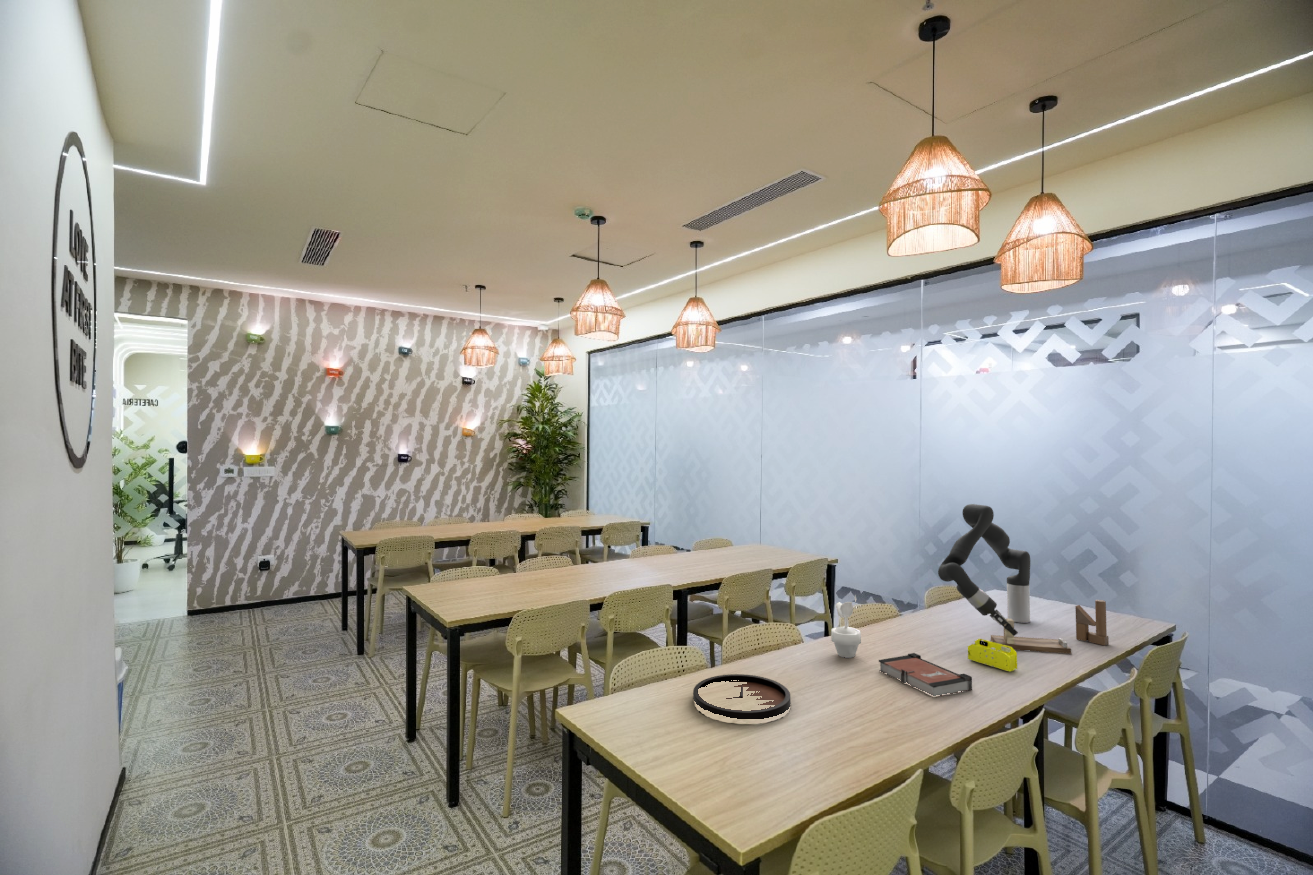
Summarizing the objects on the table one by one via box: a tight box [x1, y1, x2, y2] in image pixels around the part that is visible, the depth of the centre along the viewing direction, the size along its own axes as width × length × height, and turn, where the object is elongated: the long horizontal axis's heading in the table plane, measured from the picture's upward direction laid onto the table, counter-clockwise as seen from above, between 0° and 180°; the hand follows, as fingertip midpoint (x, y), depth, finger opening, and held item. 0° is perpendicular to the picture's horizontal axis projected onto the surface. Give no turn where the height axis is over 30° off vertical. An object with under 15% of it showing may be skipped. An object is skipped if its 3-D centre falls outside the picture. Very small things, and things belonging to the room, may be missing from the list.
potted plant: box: [830, 593, 862, 659], centre depth 243 cm, size 13×12×25 cm
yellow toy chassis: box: [967, 638, 1018, 672], centre depth 230 cm, size 16×6×8 cm, turn 31°
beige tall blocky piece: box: [1003, 617, 1015, 644], centre depth 251 cm, size 7×3×9 cm, turn 164°
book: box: [878, 652, 973, 697], centre depth 216 cm, size 26×18×5 cm
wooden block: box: [1074, 599, 1110, 646], centre depth 256 cm, size 4×11×18 cm, turn 33°
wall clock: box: [692, 673, 792, 719], centre depth 198 cm, size 31×4×31 cm
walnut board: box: [990, 634, 1072, 655], centre depth 251 cm, size 12×26×4 cm, turn 74°
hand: (1014, 632), depth 250 cm, fingers open, 4 cm apart
